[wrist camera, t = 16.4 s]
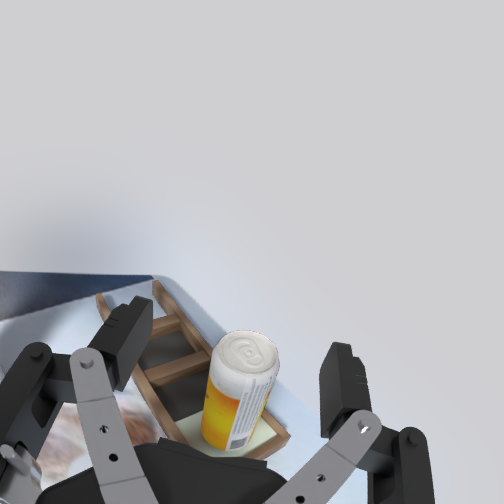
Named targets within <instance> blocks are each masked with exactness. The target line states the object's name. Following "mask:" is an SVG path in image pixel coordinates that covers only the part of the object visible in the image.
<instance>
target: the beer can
mask: <svg viewBox="0 0 504 504" xmlns="http://www.w3.org/2000/svg"><path fill="white" fill-rule="evenodd" d="M279 367H280V362H279V358H278V351H277V348H276V347H275V345H274V344H273V342H272V341H270V339H268V338H267V337H265V336H263V335H262V334H260V333H257V332H253V331H248V330H238V331H233V332H230V333H228V334H226V335H225V336H223V337H222V339H221V340H220V342H219V343H218V344H217V345H216V346H215V347H214V349H213V352H212V357H211V364H210V370H209V376H208V383H207V389H206V396H205V402H204V409H203V415H202V422H201V433H202V435H203V437H204V439H205V440H206V441H207V442H208V443H209V444H210V445H211V446H213V447H215V448H217V449H219V450H224V451H234V450H238V449H241V448H243V447H244V446H246V445H247V444H248V443H249V441H250V439H251V437H252V435H253V433H254V430H255V428H256V426H257V423H258V421H259V418H260V416H261V414H262V411H263V409H264V406H265V404H266V401H267V399H268V396H269V394H270V391H271V389H272V386H273V384H274V381H275V379H276V376H277V374H278V371H279Z"/></svg>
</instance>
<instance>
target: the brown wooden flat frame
mask: <svg viewBox="0 0 504 504" xmlns="http://www.w3.org/2000/svg"><path fill="white" fill-rule="evenodd" d="M152 294H153V296H154V297H155V299H156V300H157V301H158V303H159V304H160V306H161V307H162V308H163V310H164V311H165V313H166V314H167V316H164V317H160V318H157V319H153V329H152V333H151V337H150V339H149V341H148V343H147V345H146V347H145V348H144V350H143V352H142V354H141V356H140V358H139V360H138V362H137V364H136V366H135V368H134V370H133V372H132V374H131V377H132V379H133V380H134V382H135V384H136V386H137V388H138V389H139V391H140V393H141V395H142V396H143V398H144V400H145V401H146V403H147V405H148V406H149V408H150V410H151V411H152V413H153V415H154V416H155V418H156V420H157V421H158V423H159V424H160V426H161V427H162V429H163V431H164V432H165V434H166V435H167V437H168V438H169V440H172V441H176V442H179V443H183V444H186V445H188V446H190V447H192V448H194V449H196V450H198V451H200V452H202V453H204V454H207V455H209V456H211V457H245V458H251V459H257V460H264V459H265V458H267V457H269V456H270V455H272V454H273V453H275V452H276V451H278V450H280V449H281V448H283V447H284V446H285V445H286V443H287V442H288V440H289V438H290V437H291V435H290V434H289V433H288V432H287V431H286V430H285V429H284V428H283V427H282V426H281V425H280V424H279V423H278V422H277V421H276V420H275V419H274V418H273V417H272V416H271V414H270V413H269V412H268V411H267V410H266V409H265V408H264V409H263V411H262V414H261V416H260V418H259V421H258V423H257V426H256V428H255V430H254V433H253V435H252V437H251V439H250V441H249V443H248V444H247V445H246V446H244V447H243V448H241V449H238V450H234V451H224V450H219V449H217V448H215V447H213V446H211V445H210V444H209V443H208V442H207V441H206V440H205V439H204V437H203V435H202V433H201V422H202V415H203V409H204V402H205V396H206V389H207V383H208V376H209V370H210V364H211V357H212V352H213V349H212V348H211V347H210V346H209V344H208V343H207V342H206V341H205V340H204V338H203V337H202V336H201V335H200V333H199V332H198V331H197V330H196V329H195V327H194V326H193V325H192V324H191V322H190V321H189V320H188V319H187V317H186V316H185V315H184V314H183V312H182V311H181V310H180V308H179V307H178V306H177V305H176V303H175V302H174V301H173V299H172V298H171V297H170V296H169V294H168V293H167V292H166V290H165V289H164V288H163V286H162V285H161V284H160V282H159V281H158V280H155V281H153V290H152ZM96 302H97V308H98V310H99V313H100V315H101V317H102V319H103V321H104V322H105V321H106V319H107V318H108V316H109V315H110V314H111V313H110V311H109V308H108V306H107V304H106V302H105V300H104V298H103V296H102V294H101V293H97V294H96Z"/></svg>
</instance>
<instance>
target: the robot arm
mask: <svg viewBox="0 0 504 504" xmlns="http://www.w3.org/2000/svg"><path fill="white" fill-rule="evenodd" d="M152 329H153V301H152V300H151V299H147V298H143V297H140V296H135V297H134V298H133V300H132V301H131V303H130V304H129V305H126V304H121V305H120V306H118V307H116V308H115V309H113V311H112V312H111V314H110V315H109V316H108V318H107V319H106V321H105V322H104V325H102V326H101V328H100V329H99V331H98V332H97V333H96V335H95V336H94V338H93V339H92V341H91V342H90V344H89V345H88V346H87V348H81V349H78V350H76V351H75V352H74V353H73V354H72V355H66V354H56V353H52V351H51V348H50V347H49V346H48V345H47V344H45V343H42V342H34V343H31V344H29V345H27V346H26V347H25V348H24V349H23V351H22V352H21V354H20V355H19V357H18V358H17V359H16V361H15V362H14V364H13V365H12V367H11V368H10V370H9V371H8V373H7V374H6V376H5V375H4V373H3V371H2V369H1V367H0V503H2V504H326V503H327V502H328V501H329V500H330V499H331V498H332V496H333V495H334V494H335V493H336V492H337V491H338V489H339V488H340V487H341V486H342V485H343V483H344V482H345V481H346V480H347V479H348V477H349V476H350V475H351V474H352V472H353V471H354V470H355V468H359V469H362V470H365V471H367V476H368V504H435V498H434V489H433V481H432V473H431V466H430V459H429V452H428V446H427V440H426V437H425V435H424V434H423V433H422V432H421V431H420V430H419V429H417V428H414V427H406V428H404V429H402V430H401V431H400V432H398V431H395V430H392V429H389V428H387V427H385V426H383V425H382V424H381V421H380V419H379V418H378V417H377V416H376V415H375V414H374V413H372V408H371V401H370V395H369V389H368V385H367V378H366V372H365V367H364V365H363V363H362V362H361V360H360V359H359V357H353V355H352V349H351V345H350V344H345V343H339V342H333V343H332V345H331V347H330V349H329V351H328V353H327V356H326V357H325V359H324V362H323V364H322V366H321V369H320V374H319V384H320V421H321V438H329V441H328V443H327V444H325V445H324V446H323V447H322V448H321V449H320V450H319V451H318V452H317V453H316V454H315V455H314V456H313V457H312V458H311V459H310V460H309V461H308V462H307V463H306V464H305V465H304V466H303V467H302V468H301V469H300V470H299V471H298V472H297V473H296V474H295V475H294V476H293V477H292V478H291V479H290V480H289V481H287V480H286V479H285V478H283V477H282V476H281V475H279V474H278V473H276V472H275V471H273V470H271V469H268V468H266V467H267V461H263V460H257V459H251V458H245V457H211V456H209V455H207V454H204V453H202V452H200V451H198V450H196V449H194V448H192V447H190V446H188V445H186V444H183V443H179V442H176V441H172V440H169V439H165V438H162V437H160V439H159V441H158V443H145V444H139V445H135V446H132V443H131V441H130V438H129V435H128V433H127V430H126V427H125V424H124V422H123V419H122V416H121V413H120V410H119V407H118V404H117V401H116V398H115V396H114V394H113V392H114V390H118V391H121V392H123V390H124V388H125V386H126V384H127V382H128V380H129V378H130V376H131V374H132V372H133V370H134V368H135V366H136V364H137V362H138V360H139V358H140V356H141V354H142V352H143V350H144V348H145V347H146V345H147V343H148V341H149V339H150V337H151V333H152ZM64 402H66V403H75V404H77V409H78V414H79V418H80V422H81V426H82V430H83V434H84V437H85V441H86V444H87V448H88V451H89V455H90V458H91V461H92V464H93V467H91V468H89V469H87V470H85V471H83V472H80V473H78V474H76V475H74V476H72V477H70V478H68V479H66V480H63V481H61V482H59V483H57V484H54V485H52V486H50V487H48V488H46V489H45V490H44V491H43V492H42V490H41V486H40V481H41V476H42V472H41V468H40V466H39V464H38V463H37V462H36V459H37V457H38V455H39V453H40V450H41V448H42V446H43V444H44V442H45V440H46V437H47V435H48V433H49V431H50V429H51V427H52V425H53V423H54V421H55V419H56V417H57V415H58V413H59V411H60V409H61V407H62V405H63V403H64Z"/></svg>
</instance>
